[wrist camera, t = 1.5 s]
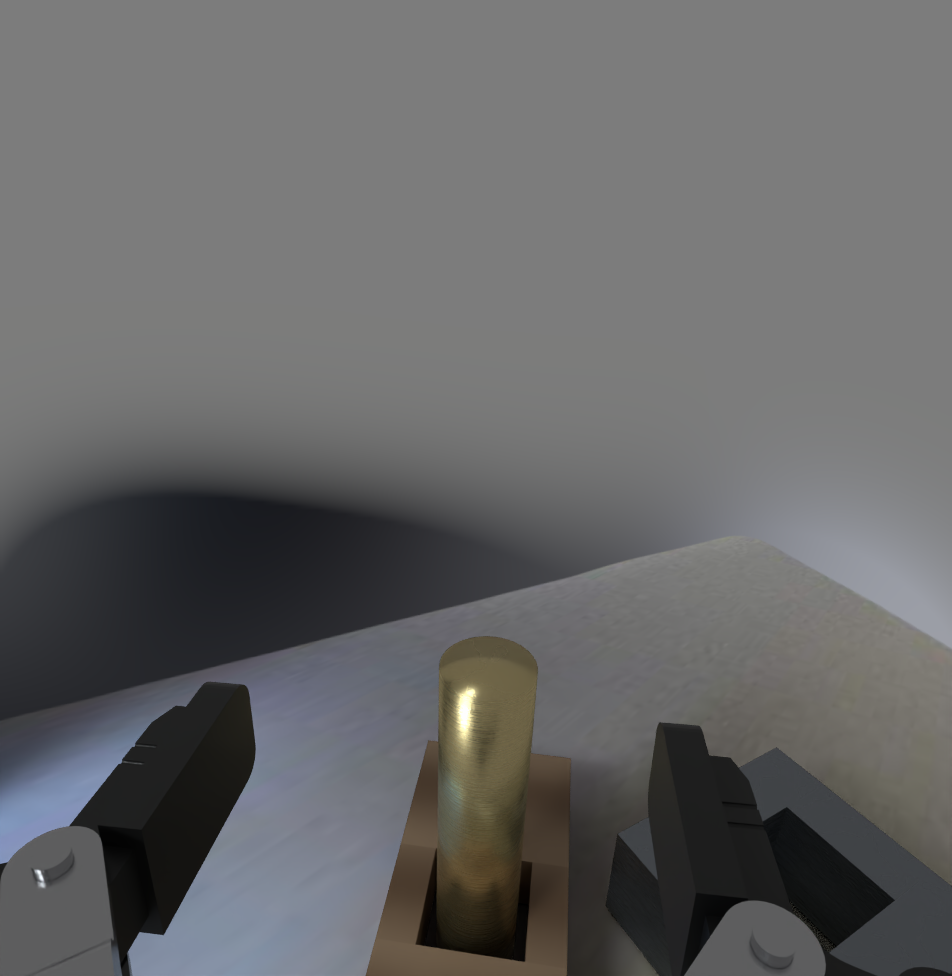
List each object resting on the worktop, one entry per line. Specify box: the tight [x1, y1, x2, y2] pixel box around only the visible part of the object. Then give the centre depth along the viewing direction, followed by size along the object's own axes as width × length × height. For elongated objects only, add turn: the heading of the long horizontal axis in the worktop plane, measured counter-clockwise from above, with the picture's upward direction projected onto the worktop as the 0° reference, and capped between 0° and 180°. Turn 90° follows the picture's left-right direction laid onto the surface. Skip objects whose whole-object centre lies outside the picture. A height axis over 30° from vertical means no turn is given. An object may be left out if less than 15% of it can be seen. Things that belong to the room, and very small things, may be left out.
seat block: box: [606, 747, 952, 976], centre depth 31 cm, size 11×11×5 cm
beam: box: [366, 740, 571, 976], centre depth 32 cm, size 18×8×3 cm, turn 172°
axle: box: [436, 636, 538, 960], centre depth 29 cm, size 4×4×16 cm
